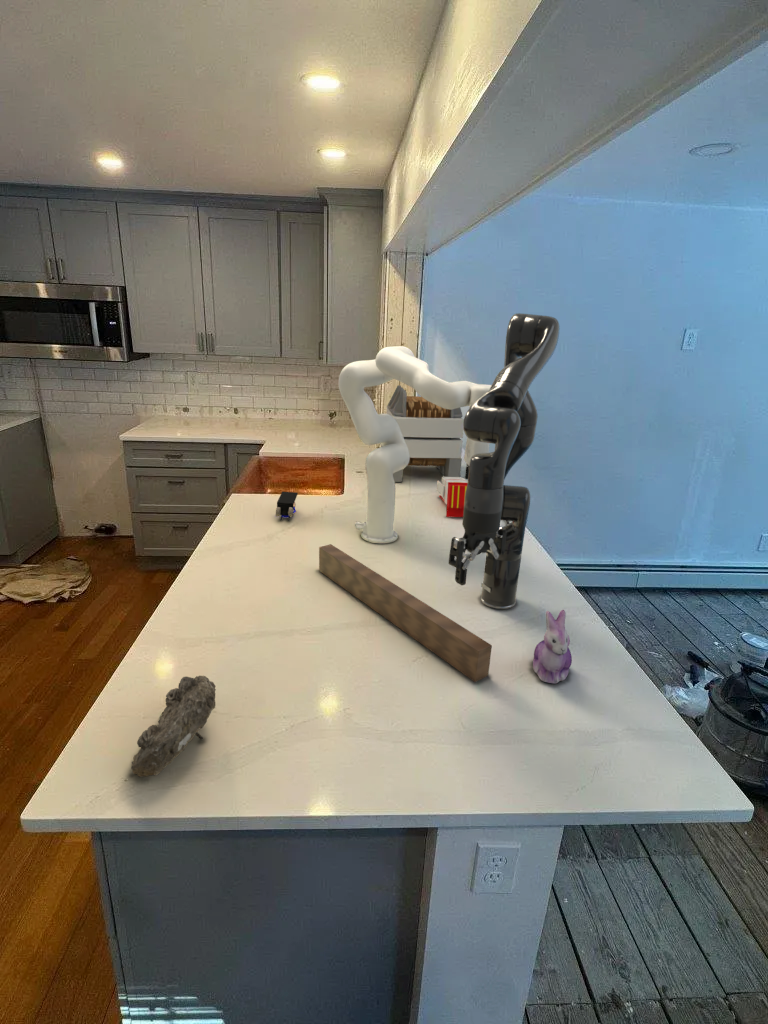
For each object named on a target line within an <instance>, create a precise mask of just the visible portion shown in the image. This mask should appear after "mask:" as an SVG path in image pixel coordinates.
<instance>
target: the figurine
mask: <svg viewBox="0 0 768 1024" xmlns="http://www.w3.org/2000/svg"><path fill="white" fill-rule="evenodd" d="M566 615H567V613H566V610H565V609H561V610H560V611H559V612H558V615H557V617H556V619H555V618H554V616H553V614H552V613H551V611H549V610H546V611H545V624H546V631H545V633H544V635H543V640H541V641H539V642H538V643H537V644H536V646H535V648H534V652H533V660H532V669H533V672H534V673H535V674H536V675H537V676H538V679H539V680H540V681H542V682H545V683H549V684H558V683H559V682H563V681H565V680H566V679H567V677H568V675H569V673H570V668H571V666H572V664H573V656H572V653H571V650H570V648H569V646H570V644H571V639H570V638H571V637H570V635H569V633H568V630H567V629H566V617H567V616H566Z"/></svg>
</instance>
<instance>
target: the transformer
mask: <svg viewBox="0 0 768 1024" xmlns="http://www.w3.org/2000/svg"><path fill="white" fill-rule="evenodd" d="M407 394H408V393H407V390H406V389H404V388H403V387H402V385H399V384H398V385H397V386H396V388H395V390H394V392H393V394H392V395H391V398H390V400H389V402H388V404H387V405H386V413H385V414H389V415H391V416H392V417H393V418H394V419H395V420H396V421H397V423H398V425H399V427H400V430H401V432H402V435H403V438H404V440H405V443H406V445H407V448H408V451H409V455H410V460H409V463H408V465H407V466H406V467H408V466H411V467H412V466H413V467H415V466H416V467H417V466H418V467H436V468H437V470H438V469H439V473H440V474H441V475H443V476H442V477H461V472H462V461H463V460H462V453H463V442H464V441H463V440H462V439H463V438H464V433H465V432H464V429H463V422H464V418H463V411H462V407H459V408H456V409H445V408H442V407H439V406H437V405H435V404H433V403H431V402H429V401H427V400H426V399H424V398H423V397H421V396H415V395H414V396H413V395H412V396H411V395H407ZM403 475H404V469H402V470H400V471H397V472H395V473H393V478H394V482H395V483H402V482H403Z"/></svg>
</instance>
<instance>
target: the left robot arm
mask: <svg viewBox="0 0 768 1024" xmlns="http://www.w3.org/2000/svg"><path fill="white" fill-rule="evenodd" d="M339 373H340V374H339V376H338V390H339V394H340V396H341V398H342V400H343V402H344V405H345V406H346V408H347V411H348V413H349V417H350V419H351V421H352V424H353V426H354V429H355V431H356V434H357V436H358V438H359V440H360V442H361V443H362V444H363V445H365V446H369V447H370V446H375V445H380V447H377V448H374V449H373V450H371V451H370V452H369V453H368V454H367V455H366V458H365V463H364V465H365V471H366V480H367V481H366V482H367V483H366V519H365V520H366V521H364V522H362V521H355V522H354V527H355V529H356V530H361V534H360V535H361V538H362V539H363V540H364V541H366V542H368V543H373V544H389V543H393V542H395V541H397V540H398V537H399V534H398V532H397V531H396V530H395V528H394V527H395V510H396V509H395V508H396V507H395V506H396V491H397V490H396V488H397V487H396V482H394V478H393V473H395V472H397V471H400V470H402V469H403V470H404V469H405V468H406V467H408V466H407V465H408V463H409V460H410V455H409V451H408V448H407V445H406V443H405V440H404V438H403V435H402V432H401V430H400V427H399V425H398V423H397V421H396V420H395V419H394V418H393V417H392V416H391V415H389V414H386V413H378V411H377V410H376V406H375V404H374V402H373V400H372V398H371V397H370V395H368V393H367V392H366V391H365V388H371V387H377V386H380V385H383V384H385V383H388V382H391V381H393V380H396V381H398V382H400V383H402V384H403V385H406V386H409V387H410V388H412V389H414V390H415V393H417V394H418V395H419V397H423V398H424V399H426V400H427V401H429V402H431V403H433V404H435V405H437V406H439V407H442V408H445V409H456V408H459V407H460V408H465V407H468V409H469V408H470V407H471V406H472V405H473V404H474V403H475V402H476V401H477V400H478V399H479V398H480V397H481V396H483V395H484V394H485V393H486V392H487V391H489V389H490V387H491V386H492V384H485V383H476V382H472V381H469V380H457V381H451V382H450V381H447V380H445V379H443V378H440V377H438V376H436V375H434V374H433V373H431V372H430V366H429V363H427V362H426V361H424V360H422V359H420V358H418V357H416V356H415V354H414V352H413V351H412V350H411V349H410V348H409V347H407V346H403V345H395V346H392V345H391V346H386V347H383V348H381V349H380V350H379V351H378V352H377V354H376V356H375V359H374V358H373V359H367V360H365V359H364V360H356V361H352V362H349V363H347V364H345V366H344V367H343V368H342V369H341V371H340V372H339ZM479 453H490V443H485V442H478V441H473V440H471V439H469V438H468V437H467V436H466V442H465V449H464V456H463V460H464V462H465V463H466V466H465V473H464V474H465V476H464V479H465V480H468V474H469V464H470V459H471V457H472V456H473V455H475V454H479Z"/></svg>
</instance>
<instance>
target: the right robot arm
mask: <svg viewBox="0 0 768 1024" xmlns="http://www.w3.org/2000/svg"><path fill="white" fill-rule="evenodd" d="M560 327H561V326H560V322H559V320H558V319H557V318H556V317H553V316H550V315H541V314H532V313H520V312H518V313H517V312H516V313H514V314H513V315H512V316H511V317H510V319H509V321H508V325H507V329H506V335H505V346H504V360H503V361H504V363H503V368H502V369H501V370H500V371H499V372H498V373H497V375H496V376H495V378H494V380H493V381H492V384H491V385H492V386H491V387H490V389H489V391H487V392H486V393H485V394H484V395H483V396H481V397H480V398H479V399H478V400H477V401H476V402H475V403H474V404H473V405H472V406H471V407H470V408H469V407H468V410H467V411H466V413H465V415H464V417H463V419H464V422H463V429H464V432H463V433H464V434H465V436H466V438H467V437H468V438H469V439H471V440H473V441H478V442H485V443H489V444H493V445H494V451H489V453H479V454H475V455H473V456H472V457H471V459H470V464H469V474H468V479H467V482H468V484H467V489H466V493H465V502H464V512H463V517H462V527H463V529H464V534H463V536H462V537H456V536H453V537H452V538H451V542H450V549H449V556H448V565H450V566H452V567H454V568H455V575H454V580H455V582H456V584H458V585H460V586H465V585H466V584H467V576H468V575H467V574H468V566H469V565H470V563H471V562H473V561H474V560H475V559H476V557H477V556H479V555H481V554H485V561H484V571H483V580H482V582H481V583H480V584H481V585H480V587H481V595H480V601H481V603H483V605H485V606H487V607H489V608H491V609H496V610H509V609H512V608H513V607H515V606H516V599H517V593H518V584H519V576H520V569H521V562H522V561H521V560H522V554H523V547H524V539H525V533H526V526H527V521H528V518H529V517H528V516H529V512H530V506H531V492H530V489H529V488H528V487H526V486H521V485H510V484H509V485H508V484H505V480H506V477H507V475H508V474H509V472H510V470H511V469H512V468H513V467H514V466H515V464H516V463H517V462H519V460H520V459H521V458H522V457H523V456H524V455H525V454H526V452H527V451H528V450H529V449H530V447H531V446H532V445H533V443H534V440H535V437H536V430H537V425H538V417H539V416H538V415H539V414H538V409H537V407H536V406H537V405H536V404H535V401H534V399H533V397H532V395H531V393H530V391H529V389H530V387H531V385H532V383H533V382H534V380H535V379H536V378H537V377H538V375H539V374H540V373H541V372H542V371H543V369H544V368H545V367H546V365H547V364H548V362H549V361H550V359H551V358H552V357H553V355H554V353H555V351H556V350H557V346H558V344H559V340H560V339H559V338H560V329H561V328H560ZM501 521H502V522H503V521H505V522H506V525H503V526H501ZM466 551H467V552H468V553H467V552H466ZM464 558H465V559H464ZM463 560H464V561H463Z"/></svg>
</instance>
